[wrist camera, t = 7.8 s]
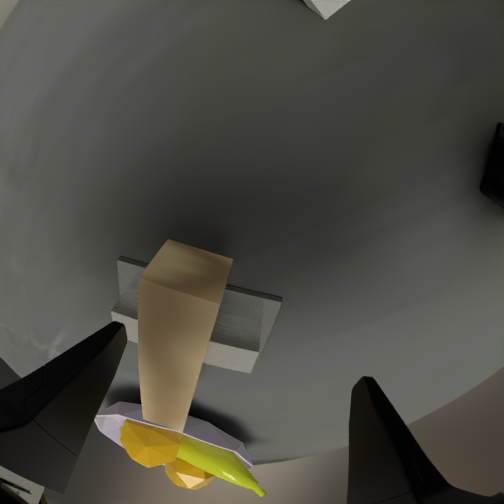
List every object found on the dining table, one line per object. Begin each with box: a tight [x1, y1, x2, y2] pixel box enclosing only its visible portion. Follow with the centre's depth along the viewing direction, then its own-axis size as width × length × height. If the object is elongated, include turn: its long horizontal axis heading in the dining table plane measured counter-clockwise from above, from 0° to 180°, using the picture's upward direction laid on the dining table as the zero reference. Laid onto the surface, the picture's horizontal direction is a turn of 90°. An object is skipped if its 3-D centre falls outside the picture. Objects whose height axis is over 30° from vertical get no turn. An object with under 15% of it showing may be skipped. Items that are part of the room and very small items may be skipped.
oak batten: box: [138, 239, 233, 432], centre depth 18 cm, size 4×18×4 cm, turn 163°
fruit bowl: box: [94, 401, 266, 497], centre depth 33 cm, size 28×27×11 cm
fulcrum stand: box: [111, 256, 282, 373], centre depth 22 cm, size 14×8×4 cm, turn 77°
